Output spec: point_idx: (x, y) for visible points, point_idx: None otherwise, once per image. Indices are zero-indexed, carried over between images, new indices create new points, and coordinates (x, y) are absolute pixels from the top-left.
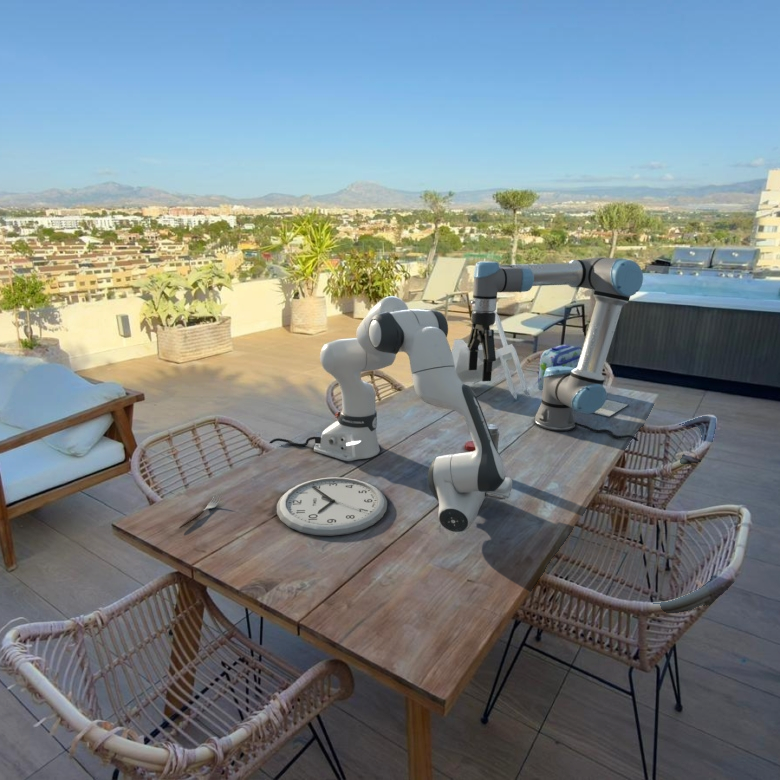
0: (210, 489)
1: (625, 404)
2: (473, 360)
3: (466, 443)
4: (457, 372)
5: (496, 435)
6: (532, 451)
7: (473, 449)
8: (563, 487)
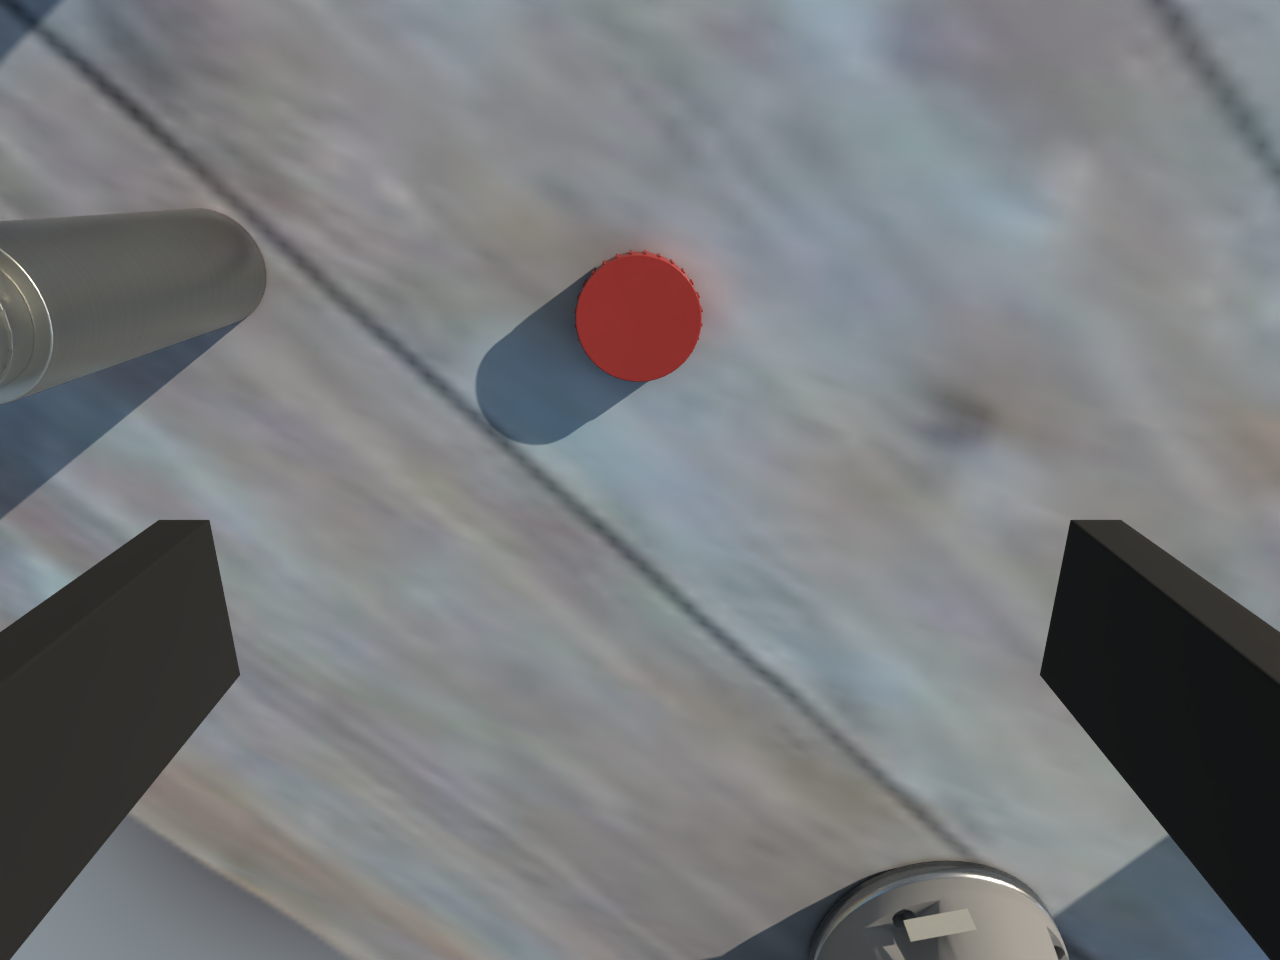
0: None
1: None
2: (1197, 740)
3: (657, 266)
4: None
5: None
6: (545, 678)
7: (578, 297)
8: None
